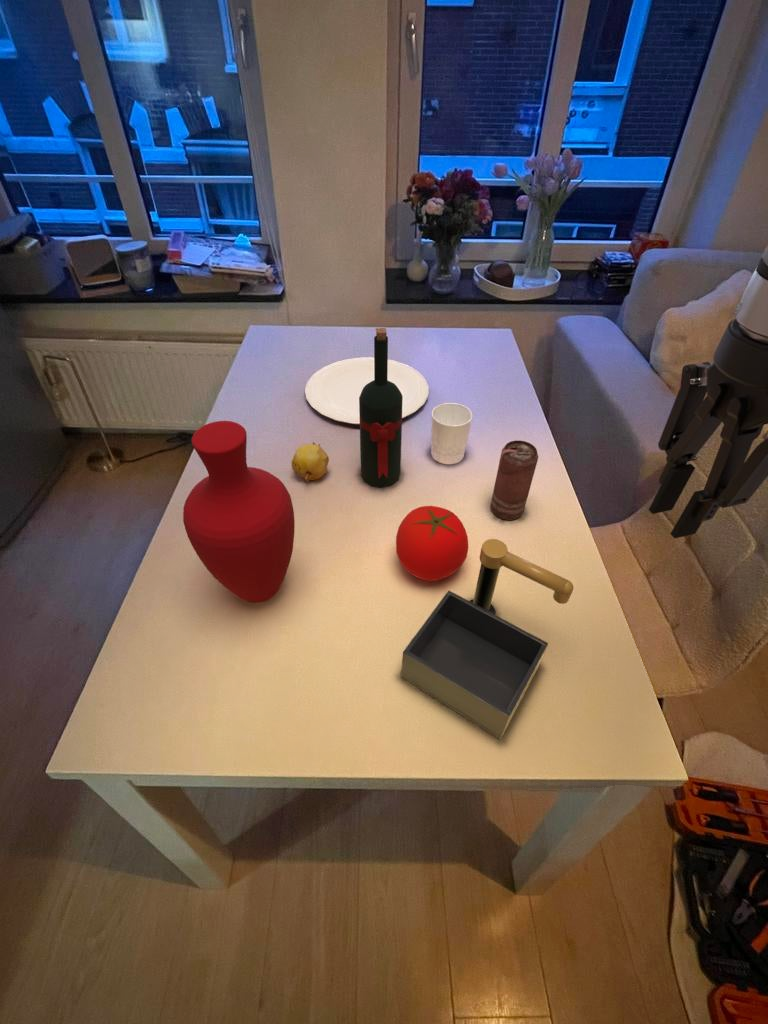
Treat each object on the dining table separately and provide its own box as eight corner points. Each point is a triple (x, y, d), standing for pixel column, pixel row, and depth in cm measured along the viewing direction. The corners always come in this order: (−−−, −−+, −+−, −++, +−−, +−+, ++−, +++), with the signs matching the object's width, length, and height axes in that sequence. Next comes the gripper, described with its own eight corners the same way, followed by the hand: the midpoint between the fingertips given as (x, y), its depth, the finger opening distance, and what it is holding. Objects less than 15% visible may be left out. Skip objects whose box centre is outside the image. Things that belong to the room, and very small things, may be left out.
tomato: (469, 591, 84) (477, 548, 77) (396, 592, 84) (397, 548, 76) (460, 536, 92) (467, 492, 85) (394, 536, 92) (395, 493, 85)
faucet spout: (474, 565, 72) (477, 550, 69) (485, 550, 74) (488, 535, 71) (563, 610, 67) (569, 595, 64) (572, 592, 69) (579, 577, 66)
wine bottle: (362, 496, 99) (357, 350, 78) (360, 462, 107) (355, 320, 86) (403, 494, 100) (410, 348, 79) (398, 460, 107) (403, 318, 86)
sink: (500, 740, 67) (509, 717, 63) (401, 677, 73) (402, 652, 69) (537, 668, 74) (548, 642, 70) (444, 616, 81) (448, 590, 76)
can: (483, 502, 99) (494, 442, 89) (513, 495, 100) (528, 436, 90) (497, 524, 95) (511, 464, 85) (529, 517, 96) (546, 457, 86)
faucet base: (486, 633, 78) (500, 580, 69) (457, 618, 80) (467, 564, 71) (500, 611, 81) (515, 557, 72) (472, 597, 83) (483, 542, 74)
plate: (344, 353, 139) (344, 346, 137) (447, 380, 129) (447, 373, 128) (281, 409, 120) (279, 402, 119) (395, 444, 111) (395, 437, 110)
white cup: (431, 467, 106) (435, 426, 99) (425, 443, 111) (428, 403, 104) (470, 465, 106) (476, 424, 99) (462, 442, 112) (467, 401, 105)
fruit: (324, 470, 96) (336, 437, 103) (287, 459, 95) (301, 427, 102) (318, 495, 101) (329, 462, 108) (283, 485, 100) (297, 452, 107)
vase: (192, 605, 82) (126, 453, 61) (247, 541, 91) (207, 391, 70) (272, 640, 77) (233, 489, 56) (321, 568, 87) (303, 417, 66)
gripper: (905, 371, 40) (750, 568, 56) (745, 287, 51) (655, 471, 67) (825, 385, 38) (690, 582, 55) (678, 295, 49) (603, 481, 66)
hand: (671, 521), depth 61 cm, fingers open, 3 cm apart
